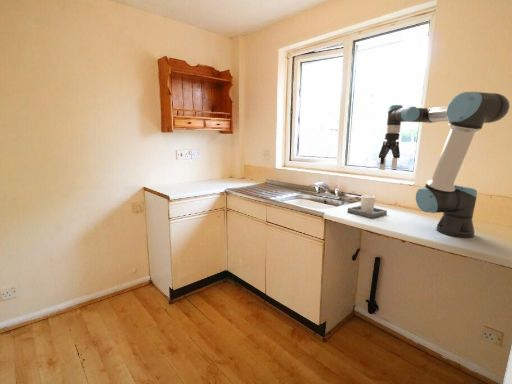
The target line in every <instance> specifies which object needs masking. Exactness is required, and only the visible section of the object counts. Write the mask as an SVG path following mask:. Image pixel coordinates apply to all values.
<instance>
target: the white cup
mask: <svg viewBox="0 0 512 384" xmlns="http://www.w3.org/2000/svg"><path fill="white" fill-rule="evenodd" d="M360 198H361V199H360V201H361V202H360V205H361V211H363V212H367V213H371V214H372V213H373V209H374V208H375V204H376V198H377V197H376V196H375V195H371V194H370V195H369V194H361V197H360Z"/></svg>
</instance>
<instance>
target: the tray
mask: <svg viewBox="0 0 512 384" xmlns="http://www.w3.org/2000/svg"><path fill="white" fill-rule="evenodd" d="M347 213H350V214H353V215H356V216H361V217H364V218H368V219H376V218H379V217H382V216H383V217H384V216H386V215H387V213H388V210H385V209H383V208H382V209H381V208H377V207H374V209H373V213H372V214H371V213H367V212H363V211H361V204H360V205H357V206H356V205H355V206H352V207H348V208H347Z"/></svg>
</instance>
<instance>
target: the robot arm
mask: <svg viewBox="0 0 512 384" xmlns="http://www.w3.org/2000/svg"><path fill="white" fill-rule="evenodd" d="M509 110H510V102H509V99H508V98H507V97H506V96H505V95H503V94H501V93H494V92H481V91H465V92H464V91H463V92H461V93H459V94H457V95H456V96H454V97H453V98H452V99H451V100H450V102H449V103H448V105H445V106H443V105H442V106H437V107H426V108H424V107H416V106H407V107H405V106H404V107H403V105H402V104H392V105H389V106H388V110H387V115H386V116H387V117H386V125H385V134H384V140H383V142H382V146H381V149H380V152H379V154H378V158H379V159H380V160H379V161H380V162H379V170H381V171H385V170H386V169H385V168H386V163H387V162H386V161H387V158H386V157H387V155H388V153H389V152H390V150H391V153H392V156H393V157H392V159H391V166H390V168H391V169H392V170H397V166H398V159H400V155H401V154H400V141H399V139H400V131H401V125H402V122H403V123H405V122H406V123H407V122H408V123H426V124H427V123H428V124H432V123H433V124H434V123H438V122H448V123H447V124H448V126H449V127H450V130H449V133H448V136H447V138H446V141H445V143H444V146H443V148H442V151H441V154H440V156H439V159H438V162H437V164H436V167H435V170H434V172H433V175H432V178H431V179H429V180H427V181H426V183H425V186H424V187H420V188H419V189H418V190H417V191H416V192H415V202H416V204H417V205H416V206H417V207H418V208H419V210H420V211H422V212H424V213H431V214H435V213H443V214H442V216H441V217H440V220H439V221H438V223H437V224H436V228H435V229H436V231H437V232H439V233H441V234H444V235H447V236H451V237H455V238H465V239H467V238H473V237H474V236H475V227H474V223H473V222H474V221H473V217H474V211H475V207H476V202H477V198H478V196H477V195H478V191H477V189H475V188H473V187H467V186H463V185H456V184H455V182H456V178H457V177H458V174H459V172H460V169H461V166H462V164H463V162H464V160H465V158H466V155H467V153H468V150H469V148H470V146H471V143H472V141H473V138H474V136H475V133H476V132H479V131H480V130H482V128H483V126H484V124H487V123H488V124H492V123H496V122H497V121H500V120H502V119H503V118H504V117H506V115H507V114H508V113H509Z"/></svg>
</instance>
